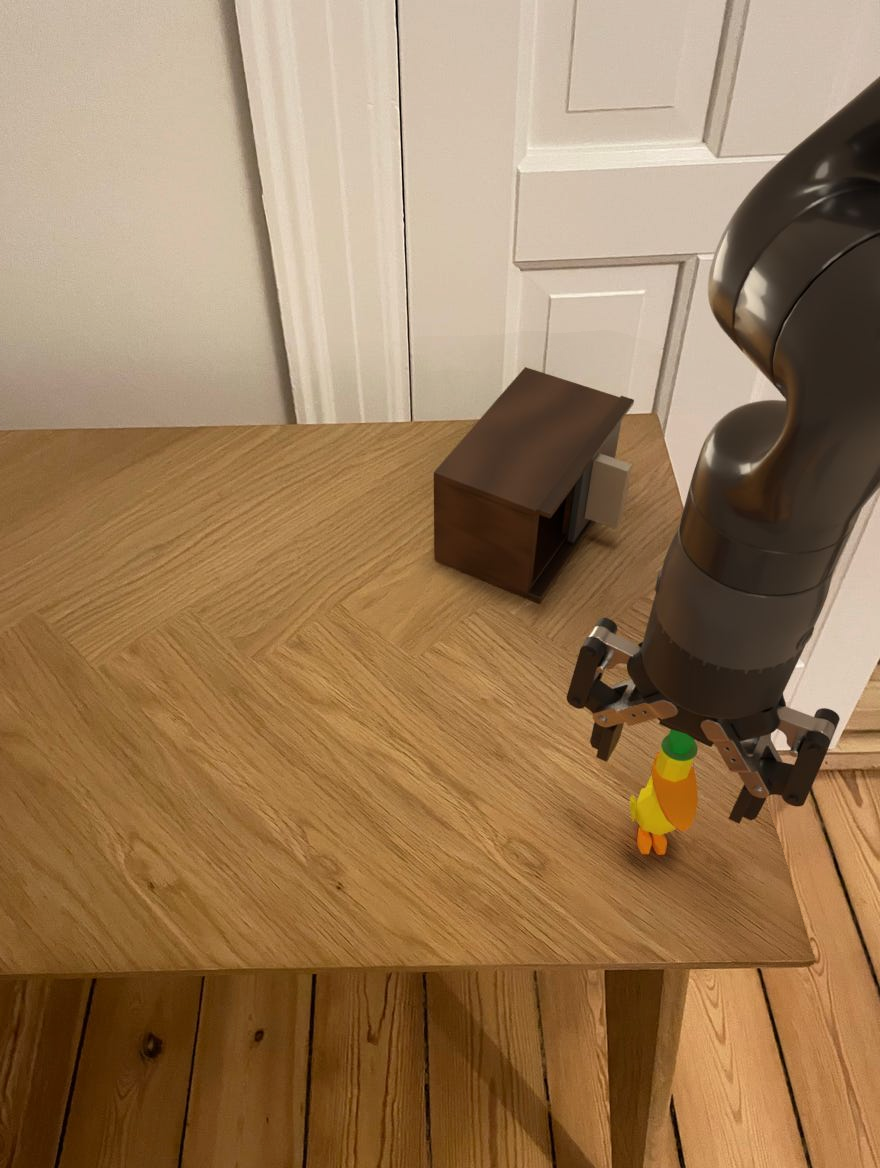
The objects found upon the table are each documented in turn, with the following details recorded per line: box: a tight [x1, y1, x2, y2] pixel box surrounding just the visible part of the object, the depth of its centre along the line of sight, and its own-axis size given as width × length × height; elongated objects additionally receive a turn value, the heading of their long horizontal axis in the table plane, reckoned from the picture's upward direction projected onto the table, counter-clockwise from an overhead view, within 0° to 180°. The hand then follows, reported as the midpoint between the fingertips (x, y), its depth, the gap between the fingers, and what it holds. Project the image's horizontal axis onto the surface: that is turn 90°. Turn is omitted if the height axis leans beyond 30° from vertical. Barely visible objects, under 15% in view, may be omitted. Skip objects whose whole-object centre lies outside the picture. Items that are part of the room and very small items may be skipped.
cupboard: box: [433, 366, 635, 604], centre depth 83 cm, size 10×16×10 cm, turn 149°
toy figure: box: [628, 729, 699, 856], centre depth 62 cm, size 7×4×12 cm, turn 179°
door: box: [567, 421, 633, 543], centre depth 82 cm, size 4×8×8 cm, turn 149°
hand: (671, 779), depth 60 cm, fingers open, 8 cm apart
